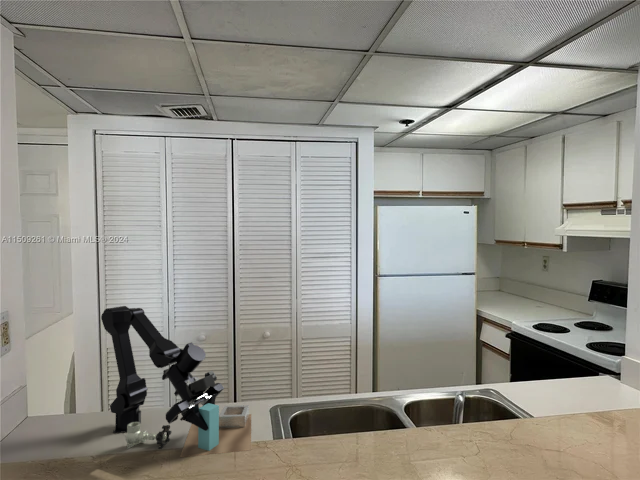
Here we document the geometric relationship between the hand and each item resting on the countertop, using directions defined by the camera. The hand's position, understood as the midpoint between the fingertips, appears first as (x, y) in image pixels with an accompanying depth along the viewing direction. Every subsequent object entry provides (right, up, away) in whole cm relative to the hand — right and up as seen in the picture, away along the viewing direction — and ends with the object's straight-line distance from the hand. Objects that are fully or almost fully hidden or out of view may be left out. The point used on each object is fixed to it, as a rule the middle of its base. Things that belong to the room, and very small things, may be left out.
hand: (212, 426), depth 104 cm
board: (0, -7, +8) cm, 11 cm away
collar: (+3, -6, +15) cm, 17 cm away
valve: (-20, -8, +2) cm, 21 cm away
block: (-1, -6, 0) cm, 6 cm away
